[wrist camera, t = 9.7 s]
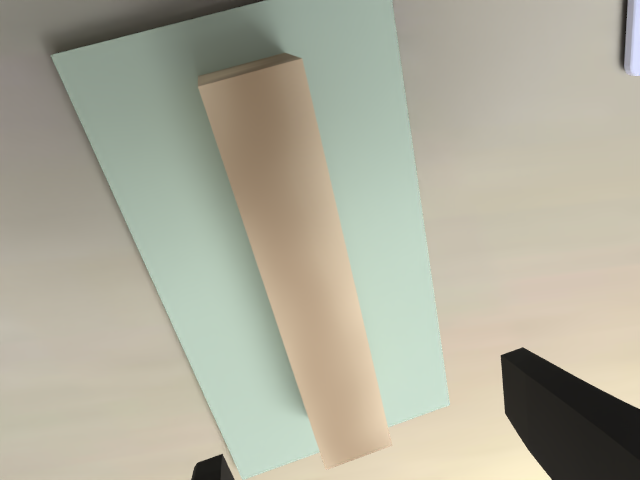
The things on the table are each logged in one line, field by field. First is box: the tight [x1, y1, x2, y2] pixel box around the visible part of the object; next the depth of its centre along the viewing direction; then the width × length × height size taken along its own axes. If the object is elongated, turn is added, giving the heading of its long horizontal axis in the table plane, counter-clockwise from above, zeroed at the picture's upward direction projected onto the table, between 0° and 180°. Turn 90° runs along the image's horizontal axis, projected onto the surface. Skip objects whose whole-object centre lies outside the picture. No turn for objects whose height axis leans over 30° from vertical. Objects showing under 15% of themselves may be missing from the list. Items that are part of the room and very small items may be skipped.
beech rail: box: [198, 53, 392, 470], centre depth 18 cm, size 3×16×3 cm, turn 13°
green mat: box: [51, 0, 450, 480], centre depth 20 cm, size 11×20×1 cm, turn 13°
